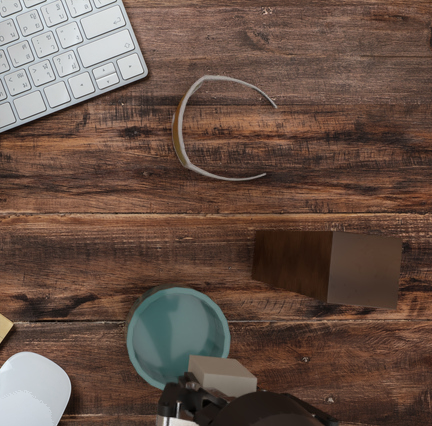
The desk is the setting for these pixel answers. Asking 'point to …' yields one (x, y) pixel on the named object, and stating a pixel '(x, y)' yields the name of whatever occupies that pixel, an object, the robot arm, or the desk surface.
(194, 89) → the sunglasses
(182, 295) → the bowl
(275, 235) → the block
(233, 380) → the block
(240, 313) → the desk surface
